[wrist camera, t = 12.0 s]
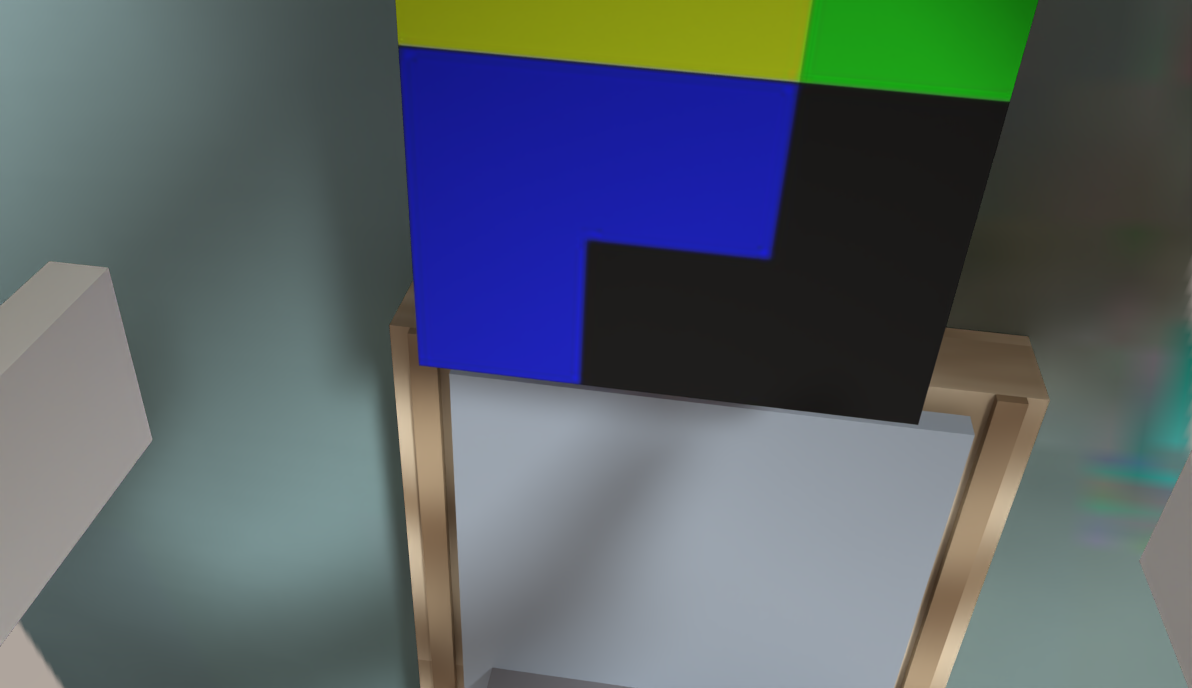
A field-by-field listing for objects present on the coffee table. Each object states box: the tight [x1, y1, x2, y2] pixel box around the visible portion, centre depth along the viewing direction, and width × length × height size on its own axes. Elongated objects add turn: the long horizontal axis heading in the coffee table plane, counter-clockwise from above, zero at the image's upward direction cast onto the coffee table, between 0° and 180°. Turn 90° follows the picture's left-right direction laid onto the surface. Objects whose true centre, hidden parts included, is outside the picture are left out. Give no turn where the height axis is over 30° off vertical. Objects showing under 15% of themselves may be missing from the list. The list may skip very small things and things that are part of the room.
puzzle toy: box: [395, 0, 1038, 425], centre depth 22 cm, size 10×10×10 cm
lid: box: [449, 369, 975, 688], centre depth 32 cm, size 14×14×4 cm
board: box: [389, 281, 1050, 688], centre depth 39 cm, size 29×18×3 cm, turn 178°
